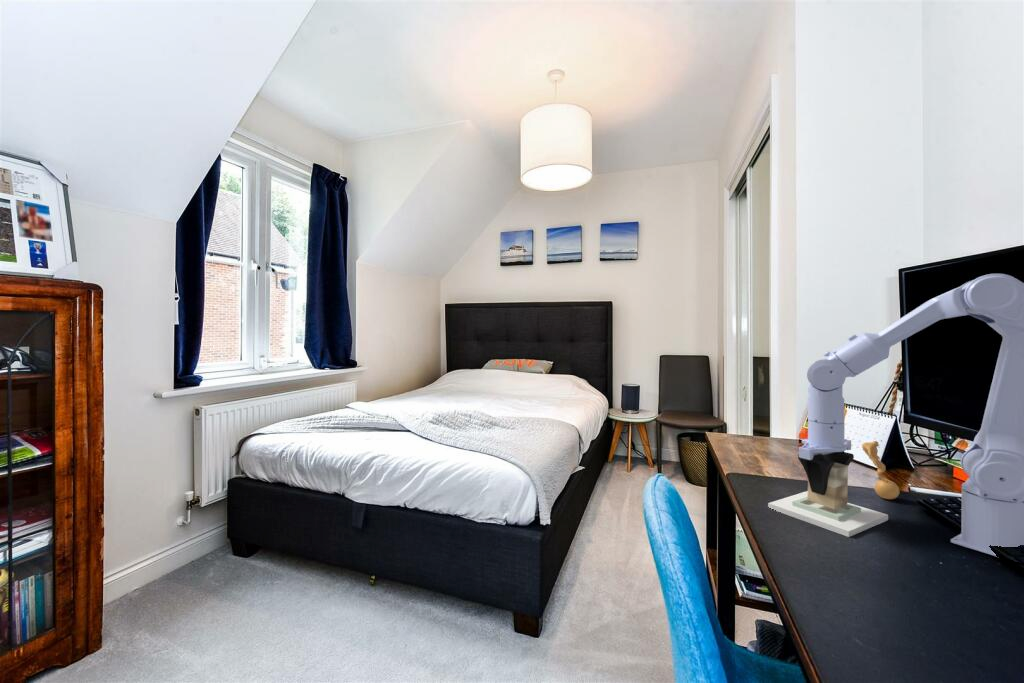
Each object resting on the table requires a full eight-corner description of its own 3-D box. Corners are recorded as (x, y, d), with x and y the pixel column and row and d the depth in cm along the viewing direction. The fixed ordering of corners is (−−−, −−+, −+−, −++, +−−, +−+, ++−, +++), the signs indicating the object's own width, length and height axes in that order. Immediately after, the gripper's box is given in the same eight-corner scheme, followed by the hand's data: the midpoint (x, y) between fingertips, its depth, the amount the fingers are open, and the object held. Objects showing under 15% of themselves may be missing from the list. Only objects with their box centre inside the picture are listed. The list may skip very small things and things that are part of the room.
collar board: (807, 495, 92) (807, 487, 92) (888, 520, 80) (888, 510, 80) (768, 508, 86) (768, 499, 86) (848, 537, 73) (848, 526, 73)
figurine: (900, 507, 85) (900, 447, 85) (861, 500, 89) (861, 443, 89) (898, 495, 92) (898, 439, 91) (862, 488, 96) (862, 435, 95)
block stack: (820, 495, 86) (821, 459, 85) (847, 504, 81) (848, 465, 81) (807, 500, 83) (808, 462, 83) (834, 509, 79) (834, 469, 79)
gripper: (823, 414, 89) (823, 478, 89) (782, 421, 83) (782, 490, 83) (863, 420, 83) (863, 489, 83) (822, 428, 76) (822, 503, 77)
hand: (825, 490), depth 83 cm, fingers closed on block stack, 5 cm apart
